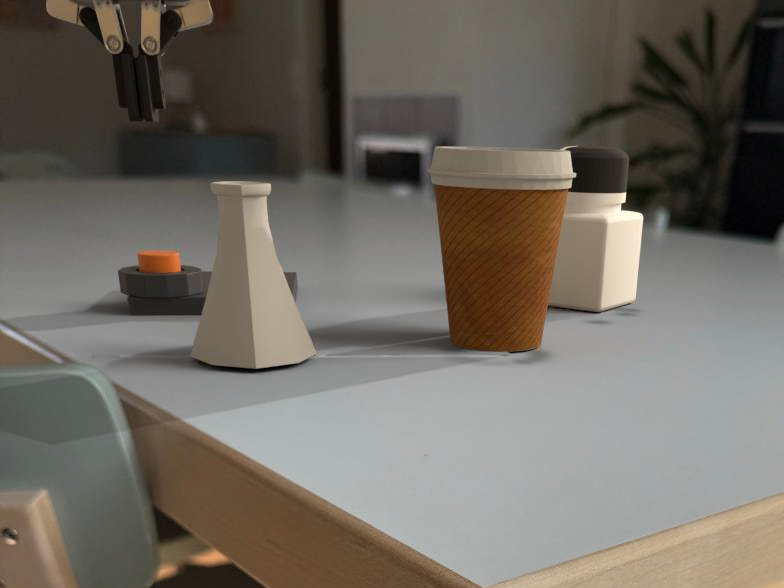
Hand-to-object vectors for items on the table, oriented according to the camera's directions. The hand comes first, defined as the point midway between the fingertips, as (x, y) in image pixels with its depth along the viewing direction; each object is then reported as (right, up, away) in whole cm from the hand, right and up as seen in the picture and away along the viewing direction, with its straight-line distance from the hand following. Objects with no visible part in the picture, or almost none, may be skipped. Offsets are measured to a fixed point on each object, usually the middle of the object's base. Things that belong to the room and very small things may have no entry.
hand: (144, 120), depth 69 cm
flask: (+10, -19, -8) cm, 23 cm away
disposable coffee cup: (+25, -16, -2) cm, 30 cm away
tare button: (0, -9, +5) cm, 10 cm away
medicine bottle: (+32, -8, +15) cm, 36 cm away
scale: (+3, -9, +10) cm, 14 cm away
